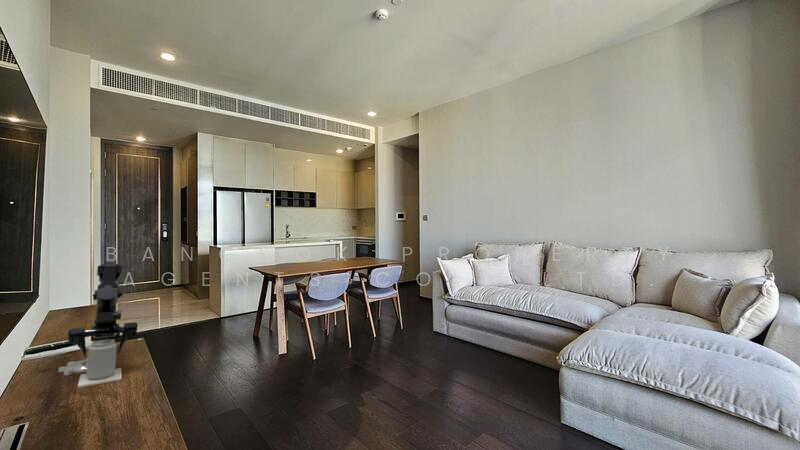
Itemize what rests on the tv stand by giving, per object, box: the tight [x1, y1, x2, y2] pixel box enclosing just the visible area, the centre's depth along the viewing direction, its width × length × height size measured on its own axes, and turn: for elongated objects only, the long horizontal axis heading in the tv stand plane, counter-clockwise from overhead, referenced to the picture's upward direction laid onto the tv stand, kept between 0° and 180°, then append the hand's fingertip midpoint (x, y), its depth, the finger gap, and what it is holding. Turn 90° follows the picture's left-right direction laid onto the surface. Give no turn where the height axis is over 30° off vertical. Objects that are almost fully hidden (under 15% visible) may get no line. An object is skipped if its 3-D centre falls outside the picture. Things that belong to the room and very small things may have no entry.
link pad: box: [77, 367, 122, 389], centre depth 118 cm, size 11×11×1 cm
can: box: [87, 338, 118, 380], centre depth 118 cm, size 8×8×12 cm
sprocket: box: [57, 357, 88, 376], centre depth 127 cm, size 16×16×2 cm
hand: (102, 353), depth 118 cm, fingers open, 9 cm apart
